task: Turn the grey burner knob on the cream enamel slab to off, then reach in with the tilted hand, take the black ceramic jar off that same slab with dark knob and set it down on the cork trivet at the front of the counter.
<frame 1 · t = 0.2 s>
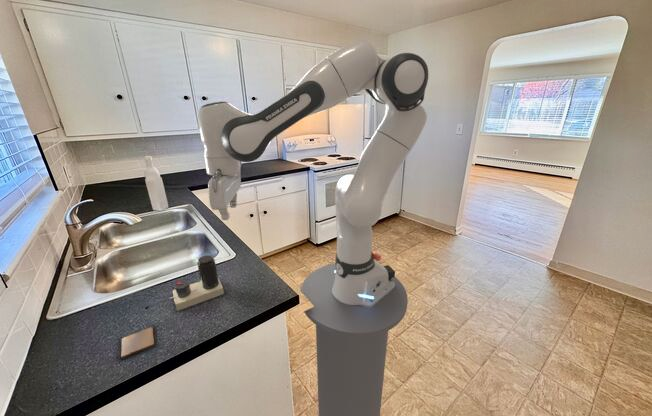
hand: (230, 212, 78), 29 cm above the worktop, tool pointing down, fingers open, 8 cm apart
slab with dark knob: (199, 295, 88), on the worktop
burner knob: (183, 288, 84), point 4 cm above the worktop, hinge at -45.0°
jar: (210, 284, 89), point 2 cm above the worktop, touching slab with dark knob
trivet: (138, 342, 71), on the worktop
milk: (161, 209, 162), on the worktop
bottle: (159, 203, 171), on the worktop
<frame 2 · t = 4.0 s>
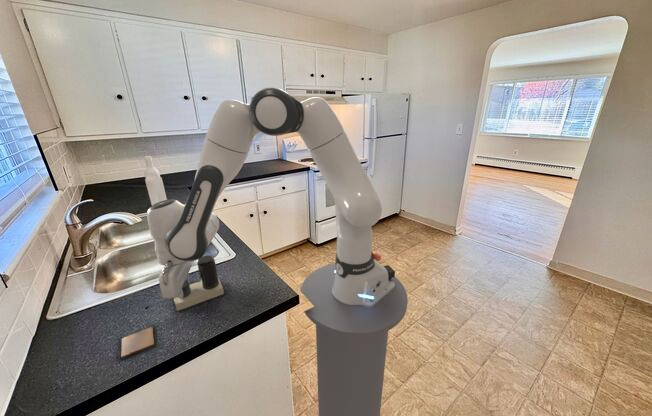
hand: (183, 290, 85), 4 cm above the worktop, tool pointing down, fingers closed on burner knob, 4 cm apart
burner knob: (183, 288, 84), point 4 cm above the worktop, hinge at -45.0°, touching gripper
everything else where it was.
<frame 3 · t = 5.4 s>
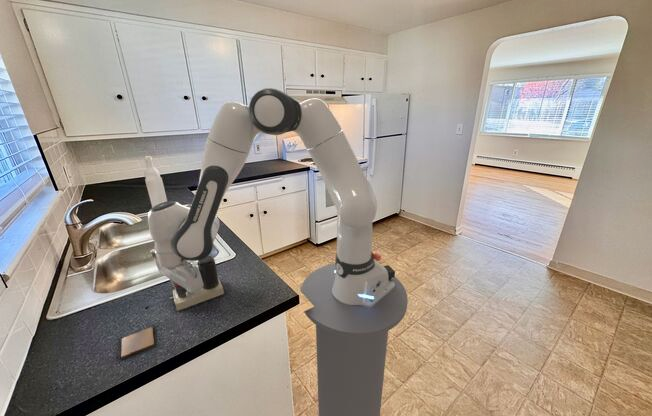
hand: (183, 292, 85), 3 cm above the worktop, tool pointing down, fingers open, 6 cm apart
burner knob: (183, 288, 84), point 4 cm above the worktop, hinge at -1.9°
everything else where it was.
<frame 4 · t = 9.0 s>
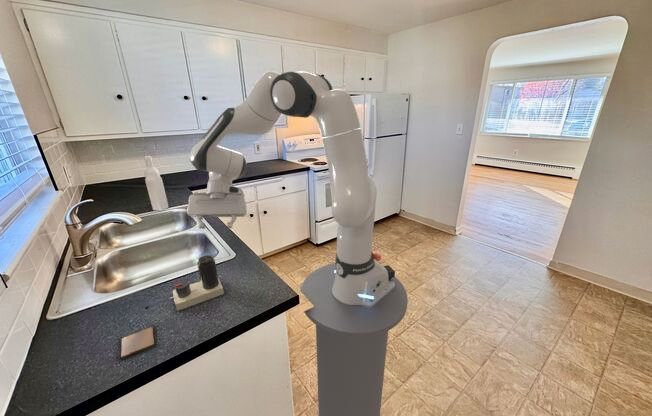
hand: (215, 228, 94), 18 cm above the worktop, tool tilted 45°, fingers open, 8 cm apart
nothing on the worktop moved.
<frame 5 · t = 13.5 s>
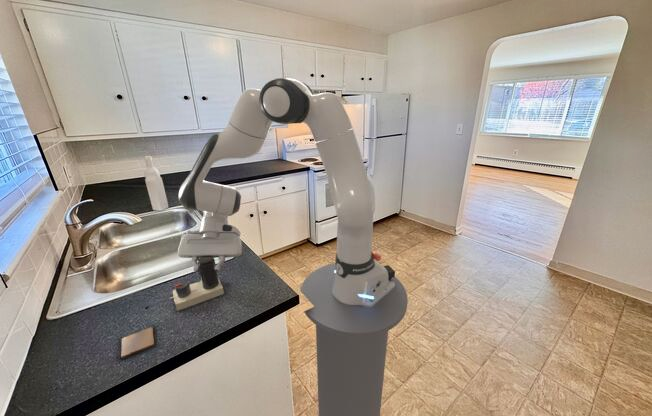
hand: (207, 270, 86), 8 cm above the worktop, tool tilted 45°, fingers closed on jar, 5 cm apart
jar: (210, 284, 89), point 3 cm above the worktop, touching gripper, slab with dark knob
everything else where it was.
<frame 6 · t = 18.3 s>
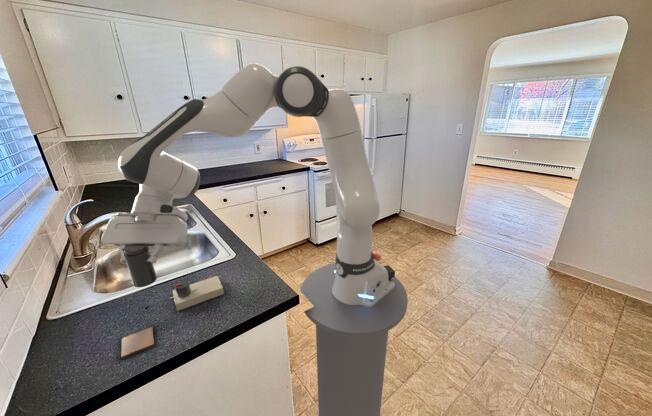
hand: (138, 263, 67), 22 cm above the worktop, tool tilted 45°, fingers closed on jar, 5 cm apart
jar: (145, 281, 70), point 16 cm above the worktop, touching gripper
everything else where it was.
when the fingers open (6 cm above the worktop, at t = 23.6 s): jar stays where it is, resting on trivet.
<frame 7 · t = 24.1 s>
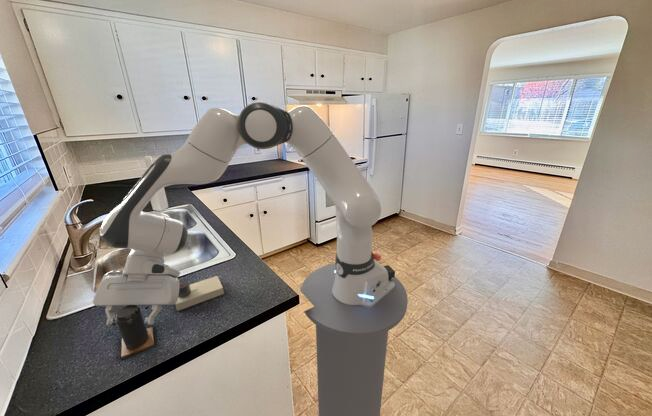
hand: (129, 325, 68), 7 cm above the worktop, tool tilted 45°, fingers open, 8 cm apart
jar: (137, 340, 70), point 1 cm above the worktop, touching trivet
everything else where it was.
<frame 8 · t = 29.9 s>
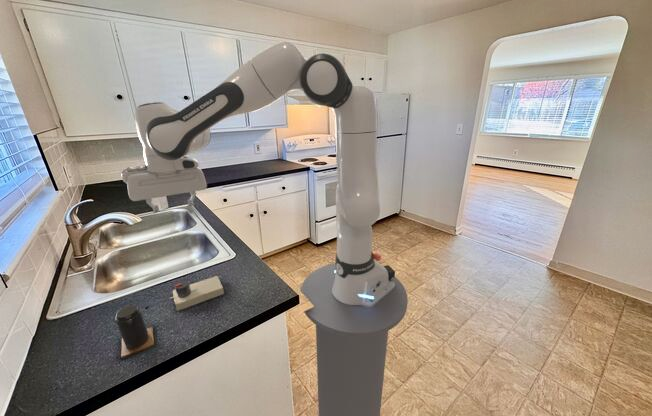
hand: (174, 208, 81), 29 cm above the worktop, tool pointing down, fingers open, 8 cm apart
nothing on the worktop moved.
at the end: burner knob at -2° (first picture: -45°); jar inside the target area on the trivet (0.1 cm from its centre), point 0.6 cm above the trivet's base; jar tilted 0° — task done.
